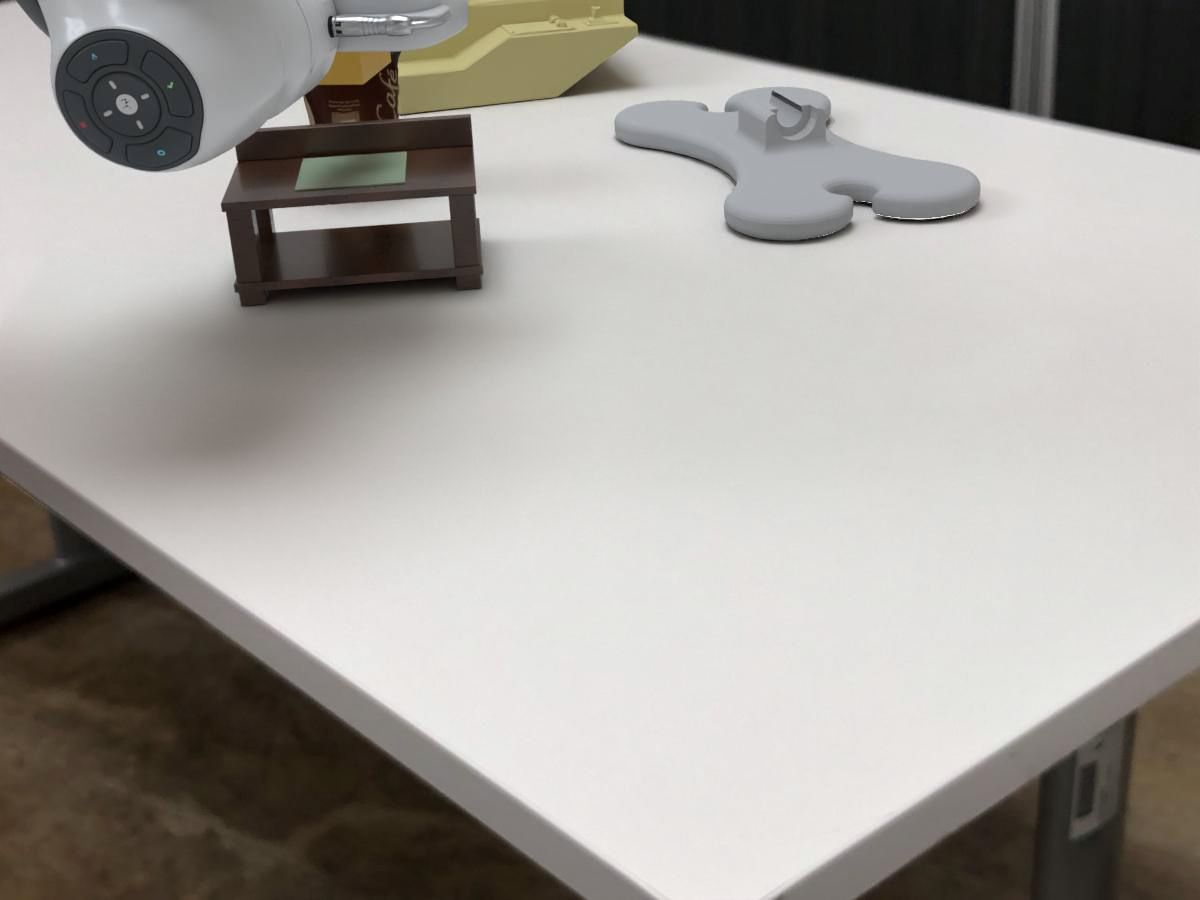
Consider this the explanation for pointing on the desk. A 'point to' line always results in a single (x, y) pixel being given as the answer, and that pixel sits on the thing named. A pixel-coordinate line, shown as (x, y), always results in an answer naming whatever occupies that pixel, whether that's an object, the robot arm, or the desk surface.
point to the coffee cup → (357, 98)
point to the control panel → (513, 53)
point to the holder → (795, 163)
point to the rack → (352, 175)
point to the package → (355, 67)
